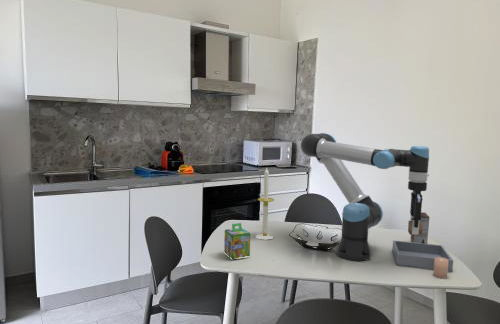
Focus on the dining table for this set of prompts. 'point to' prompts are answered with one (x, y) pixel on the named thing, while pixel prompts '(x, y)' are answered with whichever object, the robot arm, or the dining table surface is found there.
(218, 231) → the dining table surface
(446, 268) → the terracotta cylinder
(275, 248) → the dining table surface
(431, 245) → the tray
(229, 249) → the chalk box
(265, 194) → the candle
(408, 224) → the walnut cube
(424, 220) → the coffee box
